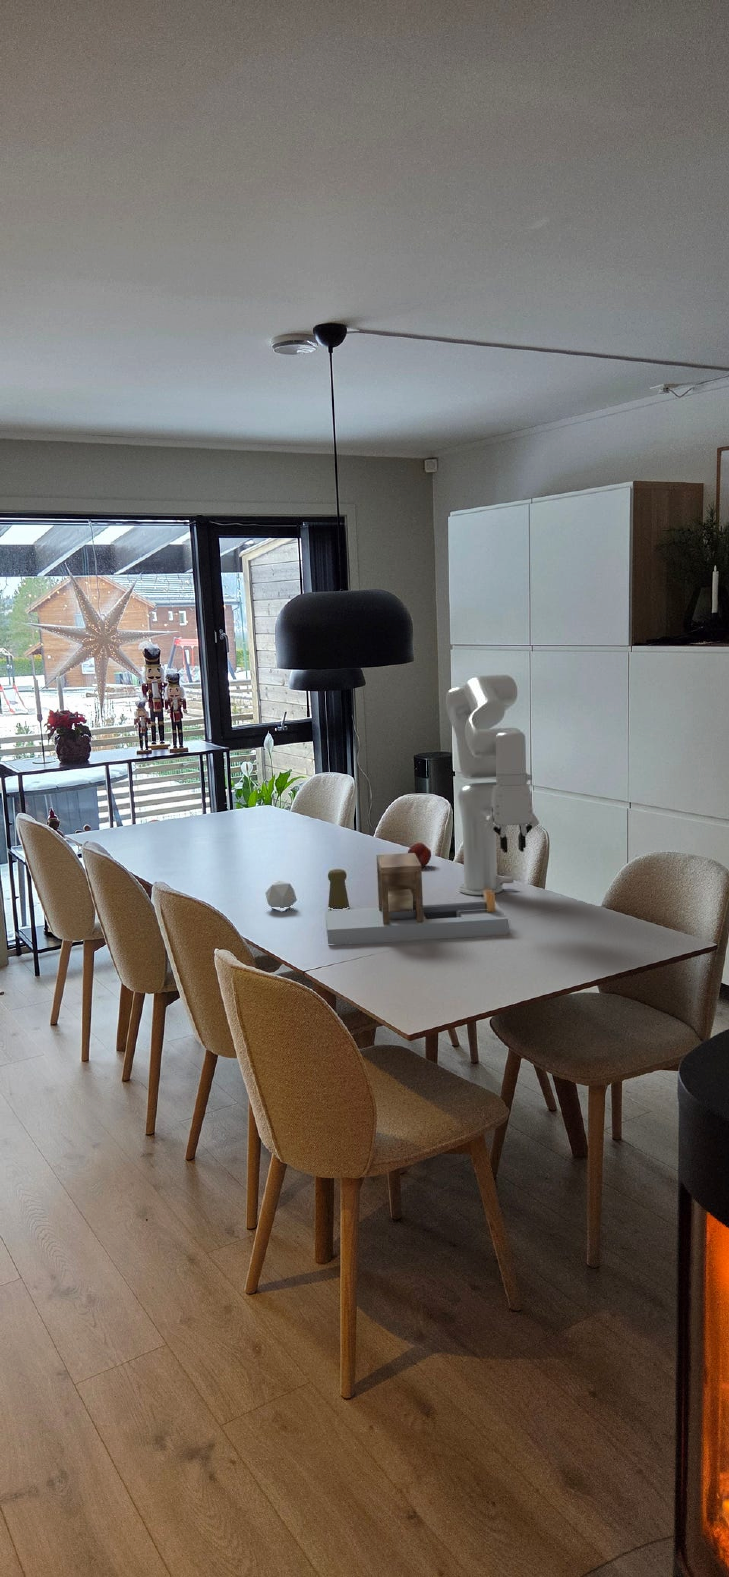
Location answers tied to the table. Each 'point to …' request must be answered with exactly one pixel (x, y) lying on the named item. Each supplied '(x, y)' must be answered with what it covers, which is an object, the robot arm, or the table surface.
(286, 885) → the die
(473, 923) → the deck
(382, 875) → the tunnel
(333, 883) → the tan pawn
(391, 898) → the block
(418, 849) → the apple
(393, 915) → the sled
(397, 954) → the table surface
